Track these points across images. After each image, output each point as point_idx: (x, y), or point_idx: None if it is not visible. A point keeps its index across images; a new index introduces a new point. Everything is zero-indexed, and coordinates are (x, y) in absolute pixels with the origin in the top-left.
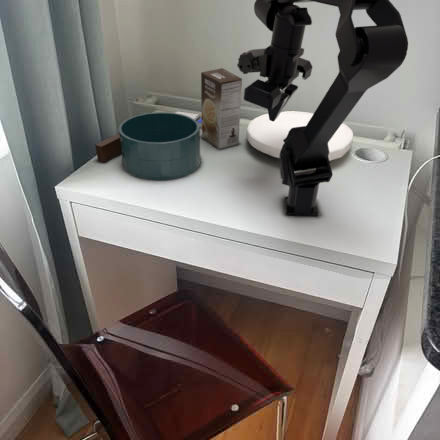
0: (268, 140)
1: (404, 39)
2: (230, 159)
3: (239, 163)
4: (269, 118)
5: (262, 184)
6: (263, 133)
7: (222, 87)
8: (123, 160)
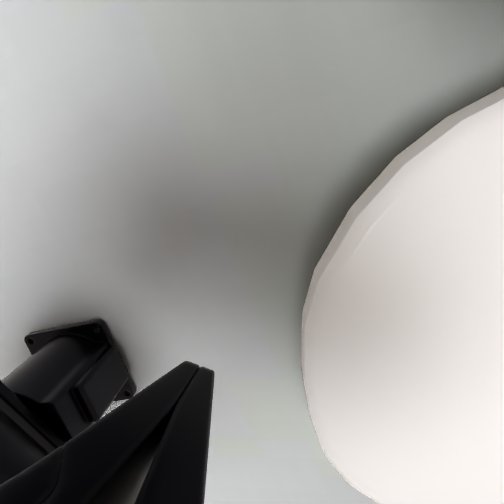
0: (382, 243)
1: None
2: (333, 39)
3: (303, 100)
4: (176, 368)
5: (163, 238)
6: (479, 197)
7: None
8: None
